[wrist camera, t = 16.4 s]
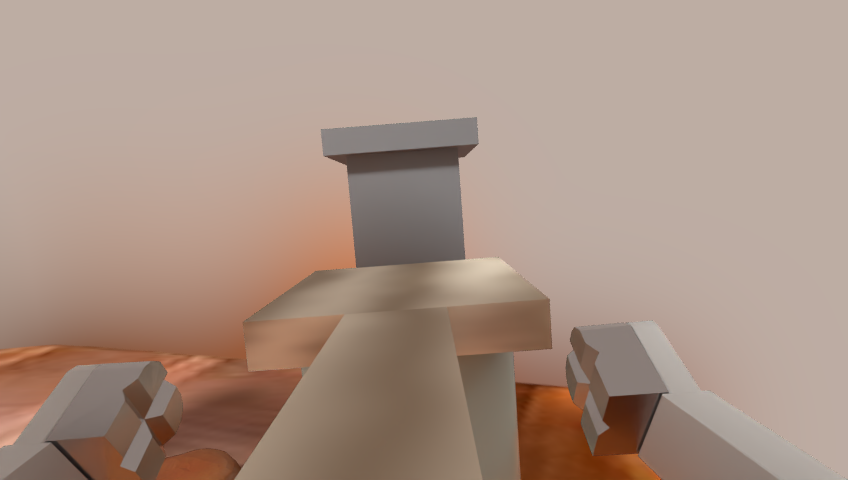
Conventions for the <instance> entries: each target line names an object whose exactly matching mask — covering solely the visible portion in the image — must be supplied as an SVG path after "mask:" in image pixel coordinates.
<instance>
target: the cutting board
mask: <svg viewBox="0 0 848 480" xmlns="http://www.w3.org/2000/svg"><path fill="white" fill-rule="evenodd" d="M550 319H551V318H550V299H549V298H548V297H546V296H545V295H544V294H543V293H542V292H540V291H539V290H538V289H537V288H536V287H534V286H533V285H532V284H531V283H529V282H528V281H527V280H526V279H525V278H523V277H522V276H521V275H519V273H517V272H516V271H515V270H514V269H513V268H511V267H510V266H509V265H508V264H506V263H505V262H504V261H503V260H502V259H500V258H499V257H493V258H480V259H467V260H454V261H440V262H427V263H414V264H401V265H388V266H375V267H362V268H349V269H336V270H323V271H315V272H314V273H312V274H311V275H310V276H308V277H307V278H305V279H304V280H302V281H301V282H300V283H298V284H297V285H295V286H294V287H292V288H291V289H289V290H288V291H287V292H285V293H284V294H282V295H281V296H279V297H278V298H276V299H275V300H274V301H272V302H271V303H269V304H268V305H266V306H265V307H264V308H262V309H261V310H259V311H258V312H256V313H255V314H254V315H252V316H251V317H250V318H248V319H246V320H245V321H244V322H243V329H244V338H245V346H246V355H247V363H248V371H261V370H275V369H288V368H302V367H309V368H308V370H307V371H306V373H305V374H304V376H303V377H302V379H301V380H300V382H299V383H298V385H297V386H296V388H295V389H294V391H293V392H292V394H291V395H290V397H289V398H288V400H287V401H286V403H285V404H284V406H283V407H282V409H281V410H280V412H279V413H278V415H277V416H276V418H275V419H274V421H273V422H272V424H271V425H270V427H269V428H268V430H267V431H266V433H265V434H264V436H263V437H262V439H261V440H260V442H259V443H258V445H257V446H256V448H255V449H254V451H253V452H252V454H251V455H250V457H249V458H248V460H247V461H246V463H245V464H244V466H243V467H242V469H241V470H240V472H239V473H238V475H237V476H236V478H235V479H234V480H483V479H482V474H481V470H480V465H479V460H478V455H477V450H476V445H475V441H474V436H473V431H472V426H471V421H470V416H469V411H468V407H467V402H466V397H465V392H464V387H463V382H462V378H461V373H460V368H459V363H458V358H457V356H462V355H475V354H489V353H502V352H514V351H528V350H541V349H552V338H551V320H550Z"/></svg>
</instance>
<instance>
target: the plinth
mask: <svg viewBox="0 0 848 480" xmlns="http://www.w3.org/2000/svg"><path fill="white" fill-rule="evenodd" d="M321 136H322V146H323V155H324V156H325V157H328V158H330V159H333V160H335V161H338V162H340V163H342V164H345V165H347V171H348V182H349V193H350V204H351V214H352V225H353V236H354V247H355V258H356V268H362V267H375V266H388V265H401V264H414V263H427V262H440V261H454V260H465V250H464V234H463V219H462V205H461V191H460V175H459V162H458V158H460V157H465V156H466V155H467V154H468V153H469V152H470V151H471V150H472V149H473V148H475V147H476V146H477V145H478V128H477V118H476V117H475V118H462V119H450V120H437V121H424V122H411V123H399V124H385V125H373V126H360V127H347V128H334V129H321Z"/></svg>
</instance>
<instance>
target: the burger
mask: <svg viewBox="0 0 848 480" xmlns="http://www.w3.org/2000/svg"><path fill="white" fill-rule="evenodd" d="M240 470H241V467H240V466H239V465H238V463H237V462H236V460H234V459H233V458H232V457H231V456H230V455H228V454H227V453H226V452H224V451H221V450H217V449H207V448H206V449H198V450H194V451H190V452H187V453H185V454H181V455H176V456H172V457H167V458H165V460H164V462H163V464H162V466H161V469H160V471H159V473H158V475H157V478H156V480H234V479H235V478H236V476H237V475H238V473H239V472H240Z"/></svg>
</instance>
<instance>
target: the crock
mask: <svg viewBox="0 0 848 480" xmlns="http://www.w3.org/2000/svg"><path fill="white" fill-rule="evenodd" d="M457 358H458V363H459V368H460V373H461V378H462V382H463V387H464V392H465V397H466V402H467V407H468V411H469V416H470V421H471V426H472V431H473V436H474V441H475V445H476V450H477V455H478V460H479V465H480V470H481V474H482V479H483V480H521V475H520V458H519V441H518V424H517V407H516V390H515V373H514V356H513V352H502V353H489V354H475V355H462V356H457ZM308 368H309V367H302V368H301V369H302V377H303V376H304V374H305V373H306V371H307V370H308Z"/></svg>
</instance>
